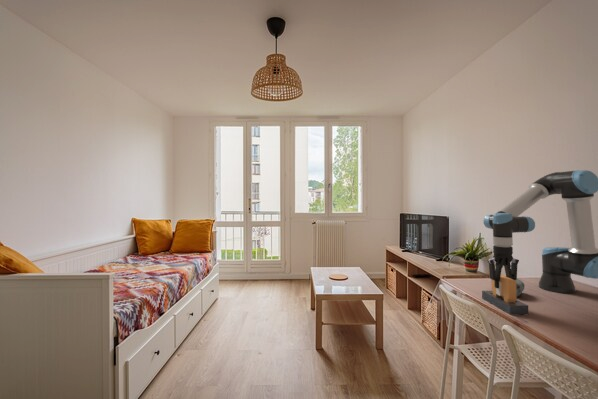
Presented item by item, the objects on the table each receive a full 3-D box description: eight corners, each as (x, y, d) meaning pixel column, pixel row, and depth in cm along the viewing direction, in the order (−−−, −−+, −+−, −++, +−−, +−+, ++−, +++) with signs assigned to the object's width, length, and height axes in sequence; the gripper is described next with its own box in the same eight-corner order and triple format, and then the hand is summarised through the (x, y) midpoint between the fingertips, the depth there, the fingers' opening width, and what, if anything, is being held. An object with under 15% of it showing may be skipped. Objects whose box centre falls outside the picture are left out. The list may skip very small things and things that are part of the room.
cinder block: (498, 298, 145) (497, 290, 145) (528, 314, 125) (528, 305, 125) (482, 298, 145) (482, 290, 145) (509, 314, 125) (509, 305, 125)
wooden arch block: (498, 297, 141) (498, 273, 141) (516, 307, 129) (516, 280, 129) (491, 297, 141) (491, 273, 141) (508, 307, 129) (508, 280, 129)
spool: (525, 294, 141) (514, 274, 146) (504, 298, 147) (495, 279, 152) (532, 294, 149) (522, 276, 154) (512, 299, 155) (503, 281, 160)
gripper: (514, 244, 139) (515, 291, 139) (480, 244, 139) (480, 292, 139) (526, 246, 131) (527, 297, 131) (489, 247, 132) (490, 297, 132)
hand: (503, 294), depth 135 cm, fingers open, 4 cm apart
